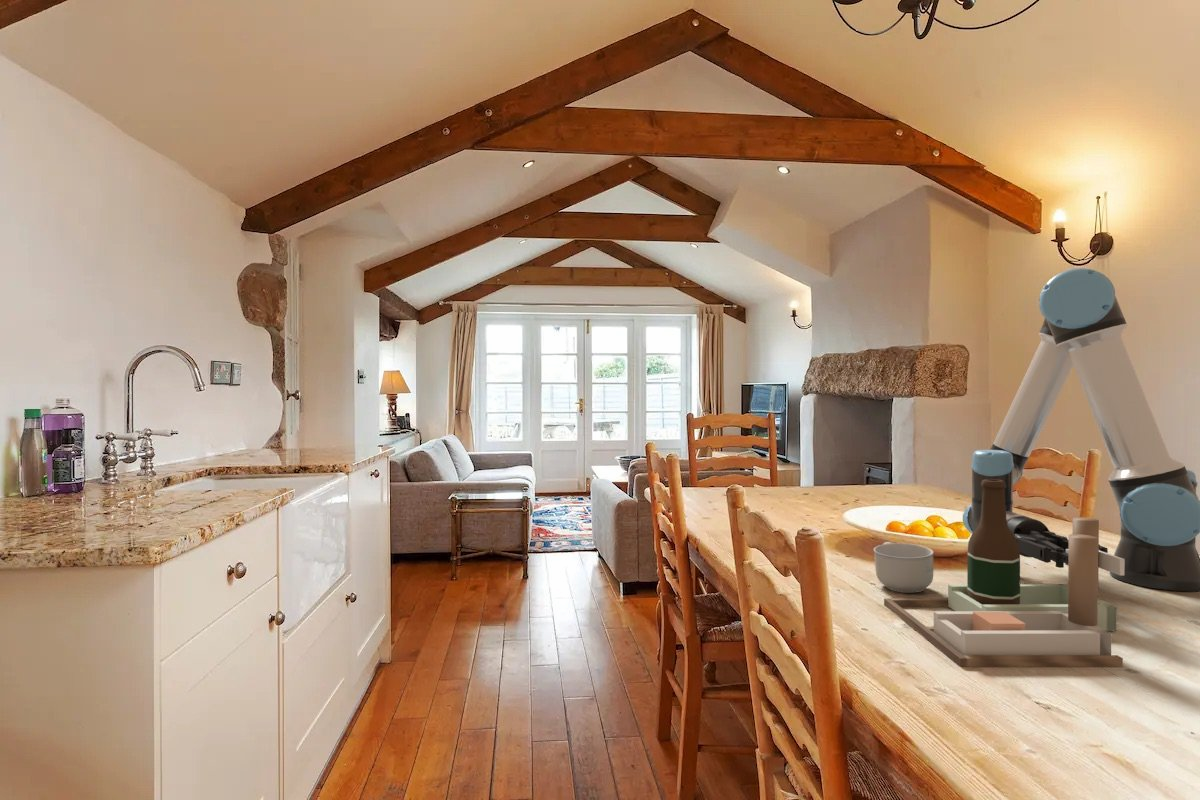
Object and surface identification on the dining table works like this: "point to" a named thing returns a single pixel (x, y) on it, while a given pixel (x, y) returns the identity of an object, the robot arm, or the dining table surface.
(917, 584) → the teacup
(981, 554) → the beer bottle
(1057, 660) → the lane rails
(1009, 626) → the terracotta cube
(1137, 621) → the dining table surface
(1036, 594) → the bottle sled
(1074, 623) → the tray
